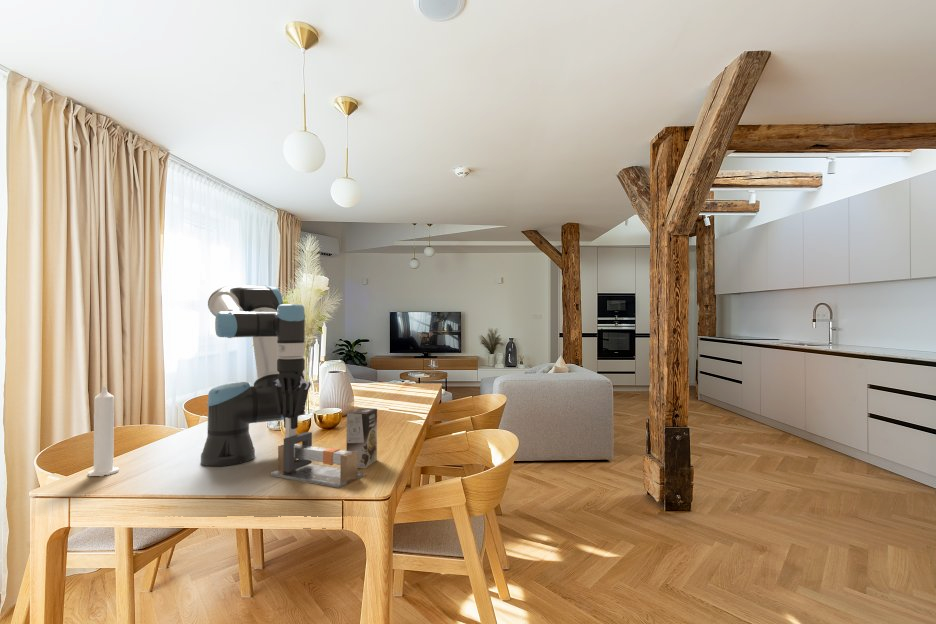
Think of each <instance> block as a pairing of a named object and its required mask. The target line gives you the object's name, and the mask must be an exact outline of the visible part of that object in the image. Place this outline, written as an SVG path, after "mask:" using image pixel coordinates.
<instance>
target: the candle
mask: <svg viewBox="0 0 936 624" xmlns="http://www.w3.org/2000/svg"><path fill="white" fill-rule="evenodd" d="M93 400H94V403H93V406H94V407H93V408H94V409H93V469H91V470H89V471H88V472H87V476H88V477H90V476H100V477H105V476H104V475H107V476H111V475H114V474H117V473H118V472H119V470H120V468H119V467H118V466H114V449H115V448H114V443H115V442H114V441H115V440H114V438H115V435H114V434H115V433H114V431H115V430H114V427H115V424H114V423H115V421H114V420H115V395H113V394H111V393H110V392H108V389H107V386H106V384H103V386H102V388H101V391H100V392H99V393H98V394H97V395H95V397H94V399H93ZM110 474H111V475H110Z"/></svg>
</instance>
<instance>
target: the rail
mask: <svg viewBox="0 0 936 624" xmlns="http://www.w3.org/2000/svg"><path fill="white" fill-rule="evenodd" d="M277 447H278V448H277V449H278V450H277V451H278V452H277V457H278V458H277V470H273V471H272V472H270V473H269V476H270V477H274V478H281V479H287V480H292V481H297V482H302V483H303V482H304V483H310V484H314V485H321V486H327V487H332V488H337V489H340V488H342V487H344V486H346V485H348V484H350V483H352V482H354V481H357V480H358V479H360V478H363V477H364V476H365V472H362V471H359V468H358V451H346V450H341V448H336V447H330V448H327V447H321V446H315V445H314V446H313V445H312V446H307V445H302V444H299V443H297V444H294V461H295V460H298V459H304V460H311V461H312V462H319V463H322V464H323V465H318V464H313V463H311V464H308V465H306V466H303V467H301V468H298V469H296V470H293V471H291V472H285V471H284V444H281V445H279V446H277ZM325 465H329V466H325ZM333 465H339V466H340V468H338V467H337V468H336V467H331V466H333Z"/></svg>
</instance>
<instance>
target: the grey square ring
mask: <svg viewBox="0 0 936 624" xmlns="http://www.w3.org/2000/svg"><path fill="white" fill-rule="evenodd" d="M312 433H313V432H310V431H305V432H301V433H298V434H296V435H295V436H291V437H288V438H285V437H284V438H283V445H284V471H285V472H291V471H293V470H296V469H298V468H301V467H303V466H306V465H308V464H313V461H311V460H304V459H298V458H297V459H296V460H295V461H294V444H299V443H301V445H307V446H313V441H312V440H313V439H312V438H313V434H312Z"/></svg>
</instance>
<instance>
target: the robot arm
mask: <svg viewBox="0 0 936 624" xmlns="http://www.w3.org/2000/svg"><path fill="white" fill-rule="evenodd" d="M283 302H284V300H283V295H282V293H281V291H280V289H279V288H277V287H275V286H269V285H263V286H261V285H259V286H258V285H237V284H234V285H228V286H223V287H220V288H218V289H217V290H215V291H214V292H212V293H211V295H209V297H208V299H207V307H208V310H209V311H210V313H211V315H213V316H214V317H215V318H214V319H215V320H214V321H215V322H214V323H215V324H214V326H215V327H214V329H215V331H214V332H215V335H216V337H219V338H226V339H227V338H228V339H233V338H252V343H253V344H252V345H253V352H254V359H255V360H254V361H255V368H256V374H257V375H256V376H257V378H256V379H255V381H254V383H253V386H252V385H251V386H250V383H249V382H248V381H241V382H238V381H237V382H232V383H231V382H230V383H226V384H222V385H218V386H216V387H215V386H214V387H212V389H210V390H209V391H208V394H207V403H206V406H207V437H206V440H205V443H204V446H203V449H202V452H201V454H200V463H201V465H204V466H207V467H208V466H211V467H223V466H227V467H228V466H234V465H238V464H242V463H243V464H244V463H246V462H250V461H252V460H253V459H254V458H255V456H256V452H255V451H256V450H255V447H254V444H253V440H252V437H251V435H250V424H255V423H265V422H276V421H280V422H281V421H282V420H283V428H284V431H285V432H284V434H285V435H284V436H285V437H284V439H285V438H288V437H291V436H295V435H297V428H298V425H299V423H298V422H299V421H298V419H299V417H300V416H302V415H304V414H305V408H306V402H307V399H308V392H309V390H310V388H311V385H312V384H311V381H310V382H309V381H306V380H305V377H304V371H305V370H306V369H305V366H306V365H305V364H306V363H305V361H306V360H305V358H304V357H305V356H306V355H305V350H306V349H305V347H306V346H305V345H306V344H305V341H306V340H305V336H306V335H305V332H306V329H305V328H306V327H305V326H306V314H305V307H304V305H303V304H287V303H285V304H284V303H283Z"/></svg>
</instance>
